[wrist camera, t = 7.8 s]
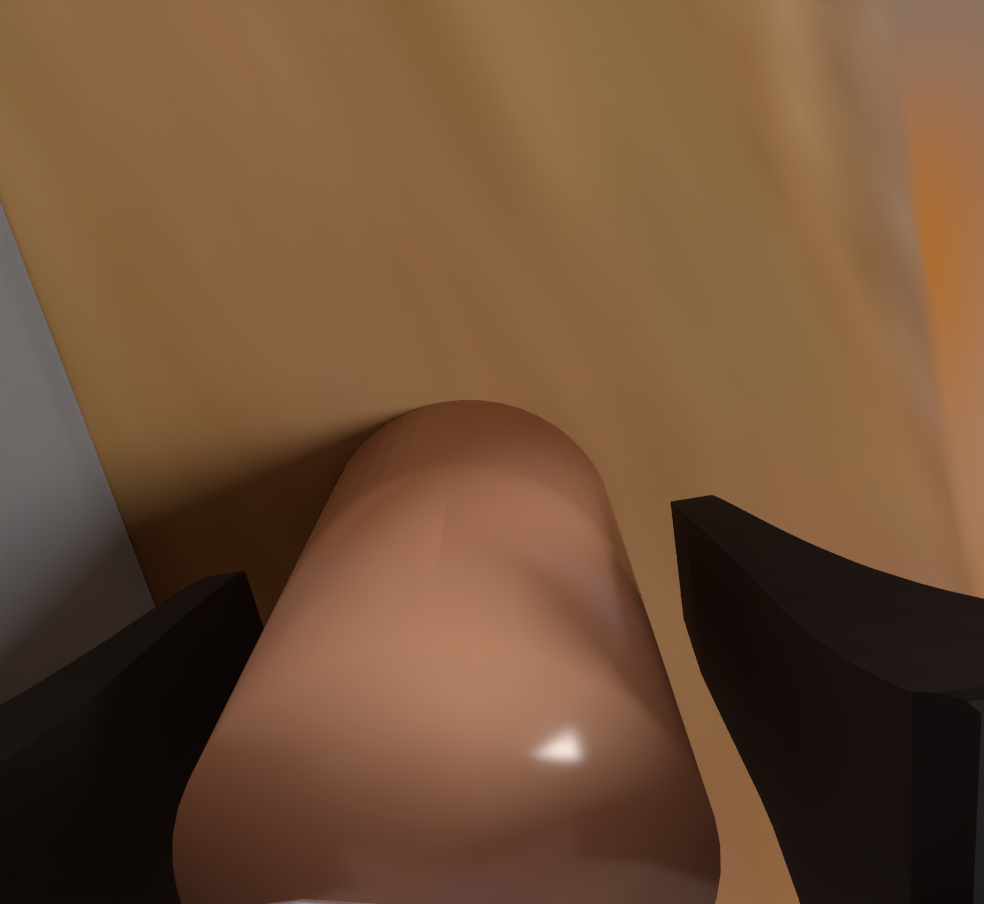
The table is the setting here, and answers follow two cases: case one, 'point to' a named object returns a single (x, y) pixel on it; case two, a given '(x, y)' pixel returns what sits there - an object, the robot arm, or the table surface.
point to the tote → (51, 505)
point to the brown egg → (454, 696)
